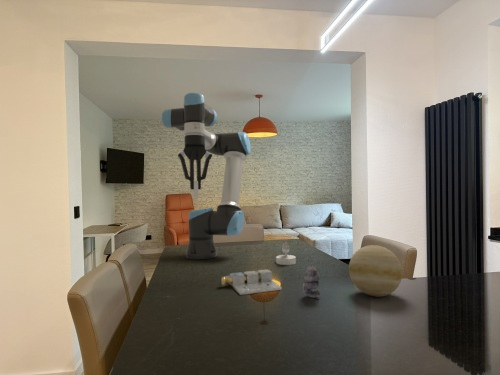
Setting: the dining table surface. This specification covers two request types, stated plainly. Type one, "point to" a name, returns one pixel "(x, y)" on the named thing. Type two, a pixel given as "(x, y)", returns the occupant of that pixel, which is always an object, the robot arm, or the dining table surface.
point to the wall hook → (285, 256)
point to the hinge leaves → (253, 282)
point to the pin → (229, 280)
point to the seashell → (311, 282)
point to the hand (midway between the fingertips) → (195, 198)
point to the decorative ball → (375, 270)
